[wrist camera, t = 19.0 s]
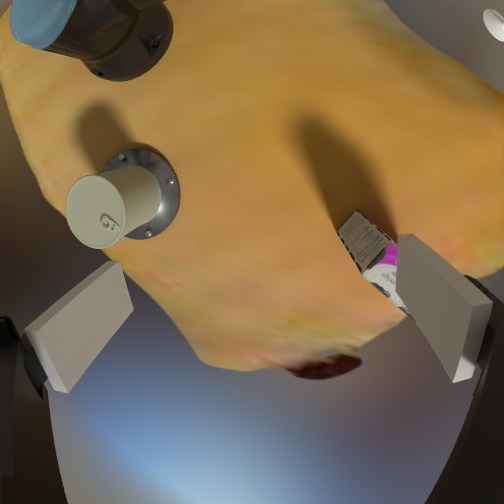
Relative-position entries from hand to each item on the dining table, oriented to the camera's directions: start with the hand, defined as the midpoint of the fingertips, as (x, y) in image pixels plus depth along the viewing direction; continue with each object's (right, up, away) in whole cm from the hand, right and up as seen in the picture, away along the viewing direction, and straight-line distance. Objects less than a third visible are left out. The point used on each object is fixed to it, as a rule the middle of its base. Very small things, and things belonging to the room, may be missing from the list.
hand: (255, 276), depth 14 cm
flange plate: (-18, +10, +32) cm, 38 cm away
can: (-18, +10, +31) cm, 37 cm away
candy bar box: (+18, +3, +31) cm, 36 cm away
